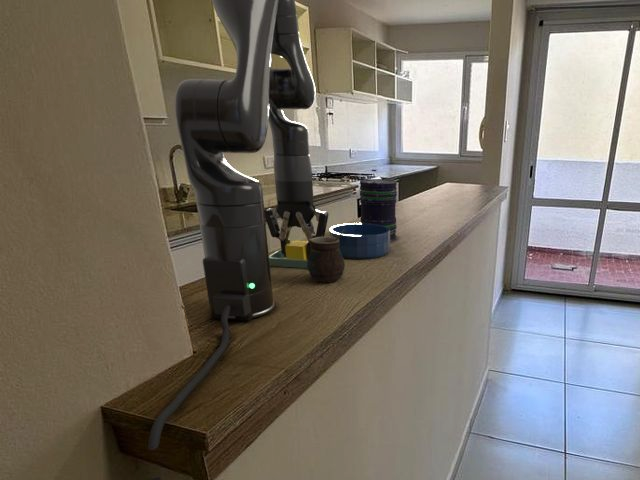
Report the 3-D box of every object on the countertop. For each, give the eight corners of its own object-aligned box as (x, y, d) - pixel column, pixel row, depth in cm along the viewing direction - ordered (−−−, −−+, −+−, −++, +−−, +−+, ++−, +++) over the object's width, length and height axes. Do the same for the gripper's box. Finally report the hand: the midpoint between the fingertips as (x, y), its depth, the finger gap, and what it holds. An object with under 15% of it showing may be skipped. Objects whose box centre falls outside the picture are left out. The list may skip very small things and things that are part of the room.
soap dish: (315, 269, 94) (315, 261, 94) (266, 265, 95) (265, 257, 95) (330, 256, 103) (330, 249, 103) (285, 253, 104) (284, 246, 104)
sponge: (304, 262, 97) (303, 246, 95) (286, 261, 97) (285, 245, 96) (312, 256, 101) (311, 241, 100) (295, 255, 102) (294, 240, 100)
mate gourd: (305, 275, 90) (301, 225, 86) (342, 272, 93) (340, 224, 89) (310, 286, 84) (307, 234, 80) (350, 283, 86) (348, 232, 83)
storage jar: (368, 232, 128) (367, 166, 121) (401, 235, 126) (402, 168, 119) (354, 239, 120) (352, 169, 113) (389, 243, 117) (389, 171, 110)
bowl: (383, 261, 101) (383, 237, 99) (322, 257, 102) (321, 233, 100) (394, 246, 114) (394, 225, 112) (340, 243, 115) (339, 221, 113)
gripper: (252, 177, 90) (261, 259, 96) (321, 181, 88) (325, 264, 95) (268, 174, 97) (275, 251, 103) (332, 177, 95) (335, 255, 102)
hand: (299, 257), depth 99 cm, fingers open, 5 cm apart
